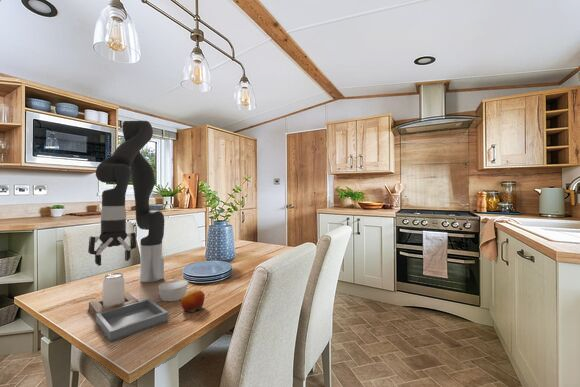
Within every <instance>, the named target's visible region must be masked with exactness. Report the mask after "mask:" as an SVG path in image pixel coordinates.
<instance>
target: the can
mask: <svg viewBox="0 0 580 387" xmlns="http://www.w3.org/2000/svg"><path fill="white" fill-rule="evenodd" d="M125 286H126V285H125V277H124V273H121V272H115V273H110V274H106V275H105V276H104V279H103V282H102V298H103V307H104V308H106V307H110V306H113V305H117V304H121V303H124V302H125V290H126V289H125Z"/></svg>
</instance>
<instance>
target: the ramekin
mask: <svg viewBox="0 0 580 387" xmlns="http://www.w3.org/2000/svg"><path fill="white" fill-rule="evenodd" d="M188 286H189V281H187V280H186V279H185V280H184V279H173V280H167V281H163V282H162V283H160V284H158V287H157V290H158V293H159V298H160V300H161V301H163V302H175V301H179V300H180V301H181V299H182V297H183V296H184V295H185V294H186V293H188Z"/></svg>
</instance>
